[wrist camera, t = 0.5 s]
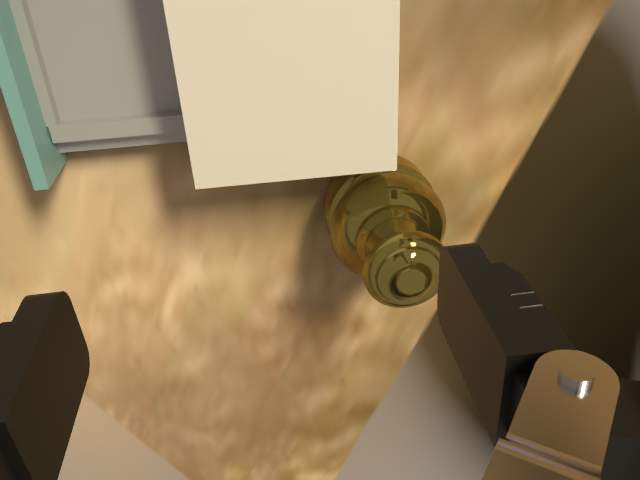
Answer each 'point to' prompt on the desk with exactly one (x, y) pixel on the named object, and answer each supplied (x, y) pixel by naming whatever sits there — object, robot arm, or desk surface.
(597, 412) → the robot arm
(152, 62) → the tray
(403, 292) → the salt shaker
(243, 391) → the desk surface
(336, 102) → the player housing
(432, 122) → the desk surface
